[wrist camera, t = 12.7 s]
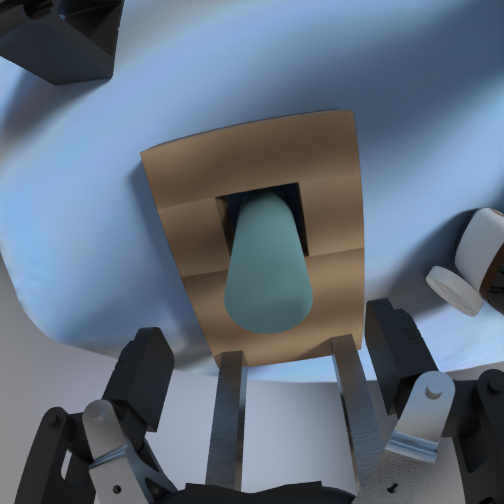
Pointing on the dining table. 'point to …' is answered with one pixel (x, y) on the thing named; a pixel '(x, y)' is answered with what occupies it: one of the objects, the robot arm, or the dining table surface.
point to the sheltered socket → (314, 251)
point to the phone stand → (61, 37)
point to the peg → (267, 266)
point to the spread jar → (475, 265)
